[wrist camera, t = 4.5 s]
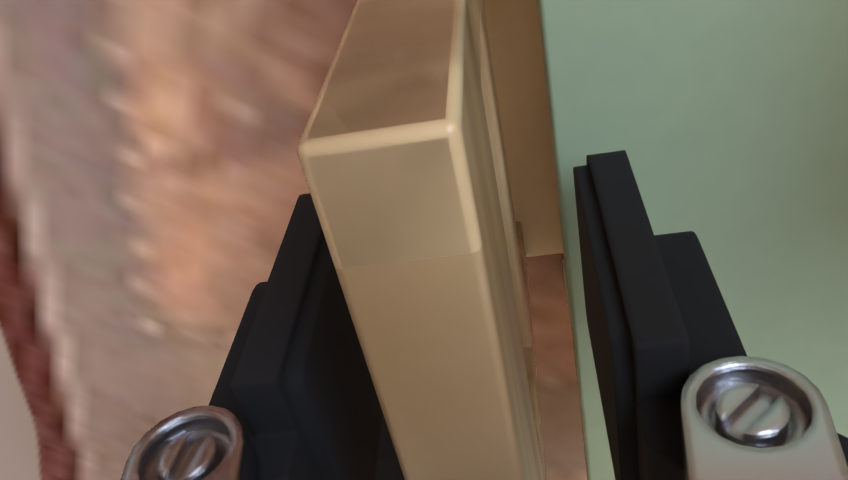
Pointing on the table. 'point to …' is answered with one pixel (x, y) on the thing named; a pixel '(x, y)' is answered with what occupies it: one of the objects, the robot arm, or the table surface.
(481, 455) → the chair
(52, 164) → the table surface
